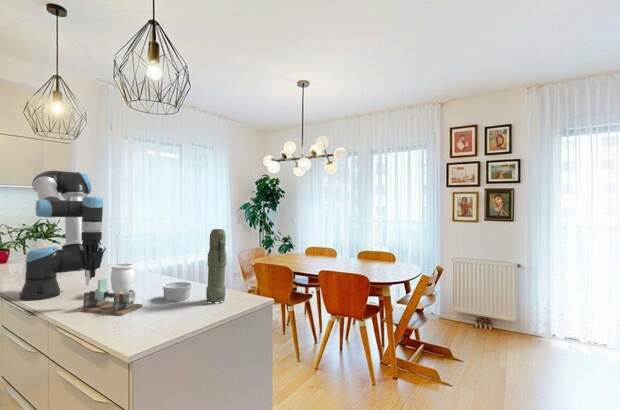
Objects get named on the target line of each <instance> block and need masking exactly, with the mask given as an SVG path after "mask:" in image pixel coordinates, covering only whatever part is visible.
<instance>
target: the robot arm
mask: <svg viewBox="0 0 620 410" xmlns="http://www.w3.org/2000/svg"><path fill="white" fill-rule="evenodd" d="M31 183H32V184H31V186H32V190H33V191H35V192H36V193H37V197H38V199H37V200H36V201H35V210H34V211H35V215H36V216H37V217H39V218H64V225H65V243H64V244H63V245H62V246H61V249H58V246H46V247H41V248H34V249H31V250H29V251H28V252H27V253H26V257H25V277H24V279H25V280H24V281H25V282H24V284H23V286H22V288H21V291H20V293H19V300H22V301H38V300H47V299H51V298H54V297H58V296H60V295H61V288H60V285H59V282H58V279H57V274H61V273H70V272H72V273H73V272H81V271H84V275H85V276H84V277H85V286H91V285H94V284H95V277H96V270H97V269H100V268H101V265H102V262H103V256H104V253H105V251H106V247H105V246H102V244H101V243H102V242H101V240H102V239H103V238H102V237H103V232H102V231H103V214H104V213H103V212H104V211H103V209H104V208H103V207H104V199H103V197H101V196H89V195H90V194H91V192H92V183H91V178H90V177H89V175H88V173H84V172H78V171H77V172H76V171H75V172H74V171H65V170H64V171H61V170H46V171H44V172H41V173H39V174H37V175H36V176H35V177H34V178H33V179H32V182H31ZM59 194H60V195H59ZM60 196H61V197H62V198H63V199H61V197H60Z"/></svg>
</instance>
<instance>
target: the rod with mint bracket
mask: <svg viewBox="0 0 620 410" xmlns="http://www.w3.org/2000/svg"><path fill="white" fill-rule="evenodd" d="M97 290H98V288H97V289H95V290H91V291H88V292H84V293H83V299H82V300H83V303H82V305H83V306H82V307H81V308H80V312H81V311H84V312H83V313H90V312H92V314H100V315H101V314H102V315H113V316H120V317H123V316H125V315H127V314H129V313H131V312H134V311H136V310H138V309H141V308H143V304H142V303H134V301H136V291H135V290H133V289H131V290H129V292H124V293H123V292H118V293H117V294H113V293H111V292H109V293H104V297H109V298H113V301H108V300H106V299H104V300H96V299H94V296H95V291H97Z"/></svg>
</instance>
